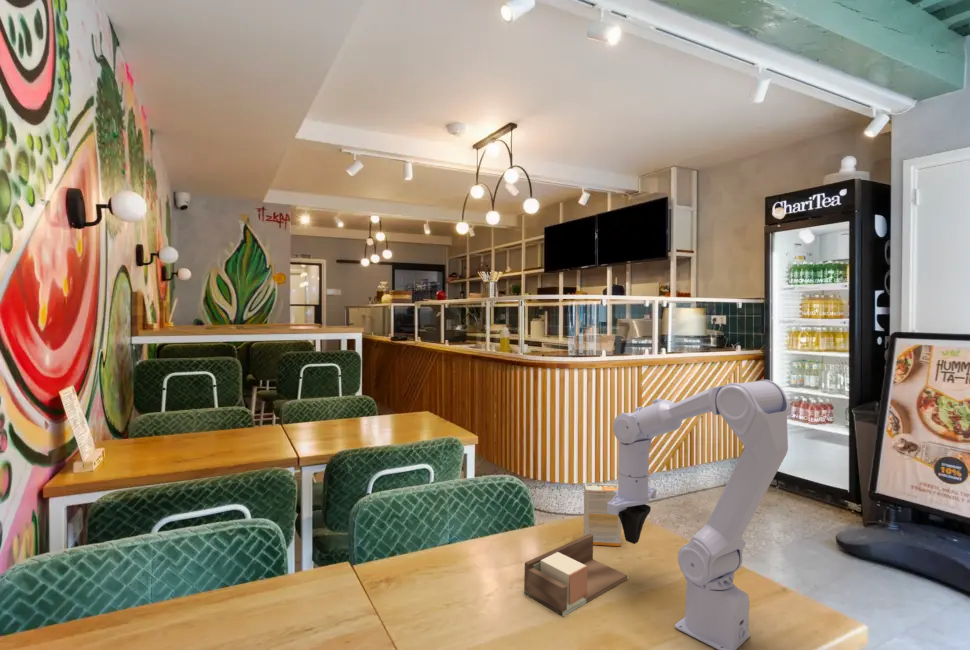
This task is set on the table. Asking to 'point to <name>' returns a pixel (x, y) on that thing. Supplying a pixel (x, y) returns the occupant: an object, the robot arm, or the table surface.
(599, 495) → the supplement box
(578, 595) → the cream rectangular block
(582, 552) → the shelf
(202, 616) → the table surface
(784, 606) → the table surface
